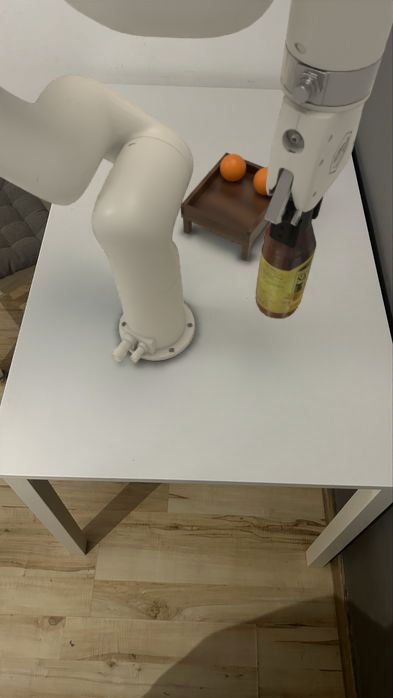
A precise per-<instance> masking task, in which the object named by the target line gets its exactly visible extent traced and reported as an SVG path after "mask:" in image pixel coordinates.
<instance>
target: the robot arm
mask: <svg viewBox="0 0 393 698" xmlns="http://www.w3.org/2000/svg"><path fill="white" fill-rule="evenodd" d="M64 1H65V2H66V4H67V5H69V6H70V7H71V8H73V9H74V10H76V11H77V12H78V13H80V14H82V15H83V16H84V17H87V18H88V19H90V20H93V21H94V22H96V23H97V24H99V25H101V26H103V27H106V28H108V29H110V30H111V31H115V32H118V33H122V34H124V35H125V34H126V35H131V36H134V37H135V36H136V37H145V38H146V37H147V38H162V39H163V38H164V39H165V38H166V39H214V38H221V37H224V36H229V35H233V34H236V33H239V32H241V31H243V30H245V29H247V28H249V27H250V26H252V25H254V24H255V23H256V22H257V21H259V20H260V19H261V18H262V17H263V16H264V15H265V13H266V12H267V11H268V10H269V8H271V6H272V4H273V3H274V0H64ZM288 13H289V14H288V20H287V28H286V34H285V42H284V48H283V54H282V56H283V57H282V63H281V71H280V76H279V77H280V78H279V86H280V89H281V91H282V93H283V94H284V95H283V98H282V101H281V106H280V108H279V113H278V118H277V121H276V126H275V130H274V134H273V139H272V145H271V148H270V153H269V159H268V165H267V167H268V171H267V180H266V191H267V194H268V196H272V195H273V196H272V199H271V202H270V204H269V207H268V209H267V212H266V214H265V218H264V219H265V220H267V221H268V222H269V223H271V227H270V233H269V236H270V237H271V238H272V239H274V240H276V241H278V242H280V243H282V244H285V245H287V246H289V247H291V248H295V246H296V245H297V243H298V239H299V235H300V230H301V226H302V222H303V220H302V219H301V218H300V217H301V214H302V211H303V212H307V211H309V210H311V209H313V208H314V212H313V215H312V221H313V220H316V219H317V218H318V216H319V213H320V211H321V206H322V204H323V200H324V196H325V194H326V193H327V192H328V190H329V189H330V188H331V187H332V185H333V184H334V183H335V181H336V179H337V178H338V177H339V176H340V174H341V173H342V171H343V170H344V169H345V167H346V165H347V164H348V162H349V160H350V158H351V156H352V152H353V150H354V147H355V146H354V145H355V142H356V137H357V135H358V130H359V126H360V123H361V119H362V114H363V110H364V106H365V103H366V101H368V100H369V98H370V96H371V94H372V91H373V89H374V84H375V82H376V79H377V76H378V73H379V69H380V65H381V62H382V59H383V56H384V53H385V50H386V46H387V43H388V39H389V36H390V34H391V30H392V27H393V0H290V6H289V12H288ZM103 160H105V161H106V162H108V163H111V164H113V165H112V167H111V169H110V170H109V172H108V173H107V176H106V178H105V180H104V182H103V184H102V186H101V188H100V190H99V193H98V194H97V197H96V199H95V202H94V205H93V209H92V213H91V221H90V224H91V229H92V233H93V235H94V238H95V239H96V241H97V243H98V245H99V246H100V248H101V249H102V251H103V253H104V254H105V256H106V258H107V261H108V264H109V267H110V270H111V274H112V277H113V281H114V283H115V288H116V289H117V290H116V291H117V294H118V299H119V302H120V305H121V309H122V312H123V313H122V315H121V317H120V319H119V324H118V332H119V337H120V339H121V342H120V343H119V345H117V346H116V348H115V349H114V350H113V351H112V353H111V354H110V357H111V358H112V359H113V360H114V361H116V362H118V363H122V361H123V360H124V358H125V357H126V356H127V355H128V352H129V353H130V354H131V355H130V356H129V359H130V360H131V361H132V362H133V363H134V364H135V363H136V364H137V363H138V362H139V360H140V359H142V360H146V361H152V362H153V361H154V362H155V361H165V360H169V359H171V358H174V357H176V356H178V355H179V354H181V353H182V352H183V351H185V350H186V349H187V348H188V346H189V345H190V344H191V342H192V340H193V338H194V336H195V331H196V323H195V322H196V321H195V316H194V314H193V312H192V310H191V309H190V307H189V306H188V305H187V304H186V303H185V302H184V301H185V300H184V291H183V290H184V289H183V280H182V267H181V260H180V254H179V248H178V246H177V245H176V243H175V242H174V240H173V235H174V229H175V225H176V222H177V218H178V216H179V213H180V211H181V205H182V203H183V202H184V198H185V195H186V193H187V190H188V188H189V185H190V182H191V179H192V176H193V172H194V167H195V165H194V157H193V153H192V151H191V149H190V147H189V145H188V144H187V142H186V141H185V140H184V139H183V138H182V137H181V136H180V134H179V133H177V132H176V131H175V130H173V129H172V128H171V127H170V126H169V125H167V124H165V123H163V122H162V121H161V120H159V119H158V118H156V117H155V116H153V115H151V114H150V113H148V112H147V111H145V110H144V109H142V108H141V107H139V106H138V105H136V104H135V103H133V102H132V101H130V100H128V99H127V98H126V97H124V96H122V95H121V94H120V93H118V92H116V91H115V90H113V89H112V88H110V87H109V86H107V85H105V84H103V83H102V82H100V81H98V80H96V79H93V78H92V77H91V78H90V77H88V76H85V75H80V74H65V75H61V76H58V77H56V78H54V79H53V80H52V81H50V82H49V83H48V84H47V85H46V86H45V87H44V88H43V90H42V91H41V92H40V94H39V95H38V97H37V99H35V101H34V102H29V101H27V100H25V99H23V98H20V97H18V96H17V95H15V94H13V93H12V92H10V91H8V90H7V89H5V88H4V87H2V86H0V178H2V179H3V180H6V181H7V182H8V183H11V184H12V185H14V186H16V187H18V188H20V189H22V190H24V191H25V192H28V193H29V194H31V195H33V196H35V197H37V198H39V199H41V200H43V201H45V202H47V203H50V204H52V205H56V206H61V207H62V206H63V207H64V206H70V205H73V204H74V203H76V202H77V201H78V200H79V199H81V197H83V195H84V193H85V191H86V190H87V189H88V188H89V186H90V184H91V183H92V181H93V179H94V177H95V175H96V173H97V171H98V169H99V167H100V165H101V163H102V161H103ZM288 200H289V201H291V202H293V203H294V204H295V208H294V212H293V211H291V210H289V209H287V208H285V206H286V204H287V202H288Z"/></svg>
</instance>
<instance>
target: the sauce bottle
mask: <svg viewBox="0 0 393 698" xmlns="http://www.w3.org/2000/svg"><path fill="white" fill-rule="evenodd" d="M285 208H287V209H289V210H291V211H293V212H294V208H295V204H294V203H293V202H291V201H289V200H288V202H287V204H286V206H285ZM313 212H314V208H313V209H311V210H309V211H307V212H303V211H302V214H301V217H300V218H301V219H302V220H303V222H302V226H301V230H300V235H299V239H298V243H297V245H296V246H295V248H291V247H289V246H287V245H285V244H282V243H280V242H278V241H276V240H274V239H272V238H271V237H270V236H269V233H270V227H271V222H269V224H268V225H267V226H266V229H265V231H264V235H263V243H262V246H261V249H260V257H259V262H258V264H259V265H258V271H257V278H256V284H255V296H254V298H255V303H256V307H257V308H258V309H259V311H260V313H262V314H263V315H264V316H266V317H268V318H271V319H276V320H277V319H278V320H283V319H286V318H289V317H291V316H292V315H293V314H294V313H295V312H296V311H297V309H299V306H300V304H301V303H302V300H303V296H304V292H305V290H306V286H307V283H308V280H309V275H310V272H311V267H312V263H313V261H314V256H315V253H316V249H317V238H316V236H315V231H314V226H313V220H312V215H313Z"/></svg>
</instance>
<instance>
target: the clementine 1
mask: <svg viewBox="0 0 393 698" xmlns="http://www.w3.org/2000/svg"><path fill="white" fill-rule="evenodd" d="M229 154H230V155H227V156H226V157H225V158H224V159H223V160H222V162H221V164H220V172H221V174H222V176H223V177H224V178H225V179H226V180H228V181H231V182H234V181H238V180H240V179H241V178H242V177H243V176H244V174H245V172H246V163H245V161H244V159H245V158H243V156H241V155H240V154H237V153H229Z"/></svg>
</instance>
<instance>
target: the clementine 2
mask: <svg viewBox="0 0 393 698" xmlns="http://www.w3.org/2000/svg"><path fill="white" fill-rule="evenodd" d="M267 171H268V166H266V167H265V168H262V169H260V170H259V171H258V172H257V173H256V174H255V176H254V180H253V184H254V187H255V189H256V191H257V192H258V193H260V194H261V195H268V194H267V191H266V180H267Z"/></svg>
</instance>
